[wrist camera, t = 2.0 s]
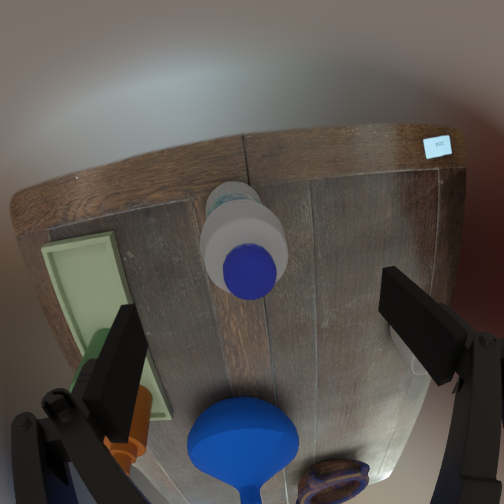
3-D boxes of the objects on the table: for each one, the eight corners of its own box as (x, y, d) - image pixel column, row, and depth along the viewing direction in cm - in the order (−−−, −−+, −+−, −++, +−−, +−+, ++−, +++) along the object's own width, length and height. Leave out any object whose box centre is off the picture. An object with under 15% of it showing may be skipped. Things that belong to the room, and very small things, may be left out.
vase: (276, 367, 47) (304, 467, 30) (297, 426, 54) (321, 506, 37) (170, 394, 47) (163, 492, 30) (210, 447, 54) (215, 527, 37)
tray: (47, 242, 36) (40, 247, 34) (114, 230, 36) (109, 235, 34) (119, 412, 48) (117, 420, 46) (173, 411, 49) (172, 419, 47)
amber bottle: (109, 385, 44) (88, 462, 30) (141, 379, 45) (126, 461, 30) (128, 408, 47) (114, 483, 32) (159, 404, 47) (151, 482, 32)
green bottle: (85, 332, 40) (47, 411, 26) (119, 323, 40) (89, 408, 26) (105, 364, 43) (79, 444, 28) (139, 357, 43) (120, 442, 28)
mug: (382, 304, 46) (414, 341, 36) (427, 287, 46) (462, 318, 36) (381, 360, 50) (406, 398, 41) (422, 343, 51) (449, 376, 41)
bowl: (369, 442, 62) (383, 472, 53) (346, 475, 68) (356, 502, 59) (300, 454, 59) (310, 488, 50) (285, 485, 66) (292, 514, 56)
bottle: (244, 240, 39) (272, 340, 20) (194, 217, 37) (178, 304, 19) (270, 192, 37) (327, 256, 19) (220, 167, 35) (227, 206, 17)
